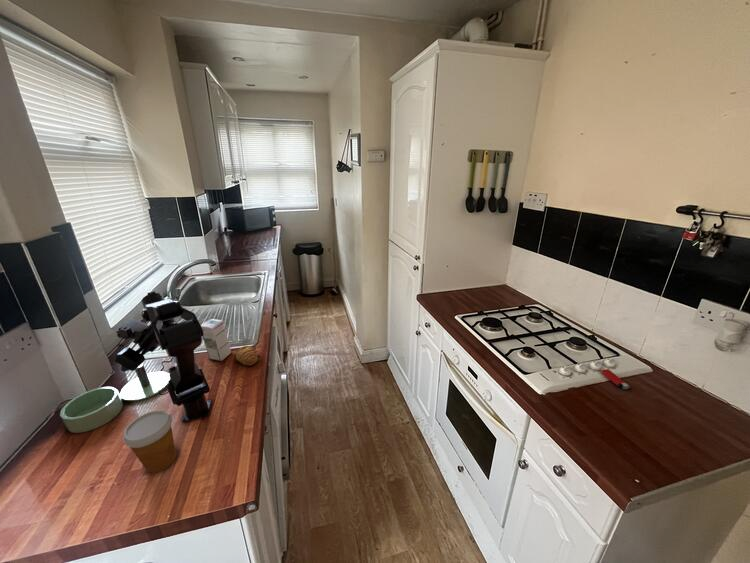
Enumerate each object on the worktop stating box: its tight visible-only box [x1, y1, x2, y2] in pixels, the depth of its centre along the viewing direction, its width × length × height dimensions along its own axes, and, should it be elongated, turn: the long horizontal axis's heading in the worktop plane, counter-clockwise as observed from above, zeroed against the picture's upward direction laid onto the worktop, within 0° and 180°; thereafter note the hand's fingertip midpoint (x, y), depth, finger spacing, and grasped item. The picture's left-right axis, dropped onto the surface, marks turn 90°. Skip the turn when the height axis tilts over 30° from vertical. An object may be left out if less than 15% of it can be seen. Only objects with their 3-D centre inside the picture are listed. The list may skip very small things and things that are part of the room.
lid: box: [119, 363, 170, 402], centre depth 99 cm, size 14×14×9 cm
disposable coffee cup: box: [122, 410, 177, 474], centre depth 73 cm, size 10×10×12 cm
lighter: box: [600, 368, 630, 390], centre depth 98 cm, size 3×1×8 cm
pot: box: [59, 386, 124, 434], centre depth 89 cm, size 13×13×5 cm
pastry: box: [235, 345, 259, 366], centre depth 112 cm, size 9×7×4 cm
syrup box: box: [200, 318, 232, 362], centre depth 113 cm, size 6×6×14 cm
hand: (133, 361), depth 97 cm, fingers open, 9 cm apart
